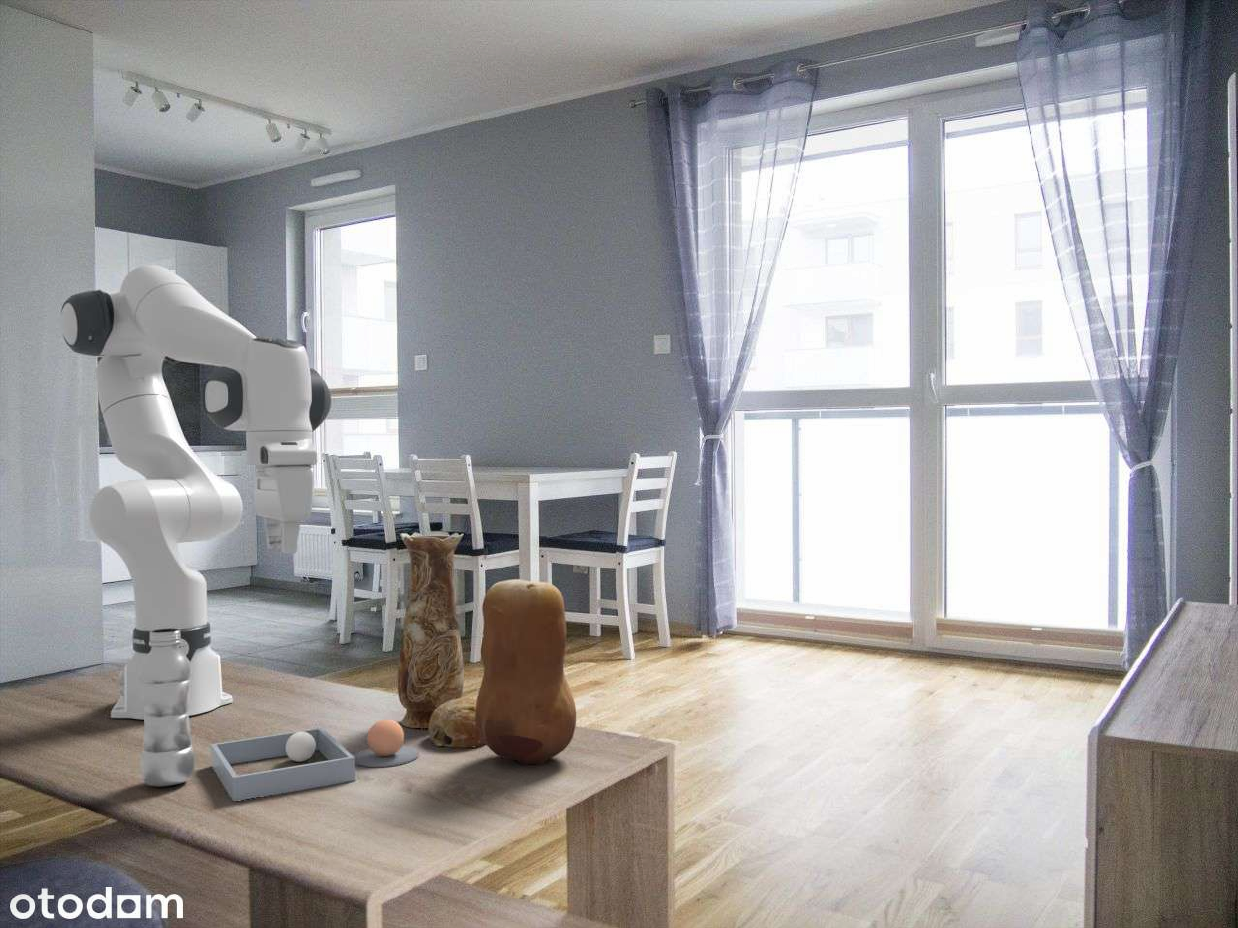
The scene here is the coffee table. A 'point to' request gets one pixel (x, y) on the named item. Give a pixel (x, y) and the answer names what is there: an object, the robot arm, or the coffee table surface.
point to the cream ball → (300, 746)
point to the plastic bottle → (166, 711)
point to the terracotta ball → (385, 737)
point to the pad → (386, 758)
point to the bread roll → (455, 724)
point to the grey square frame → (282, 779)
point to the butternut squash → (524, 673)
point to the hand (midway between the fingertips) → (281, 550)
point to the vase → (430, 629)
